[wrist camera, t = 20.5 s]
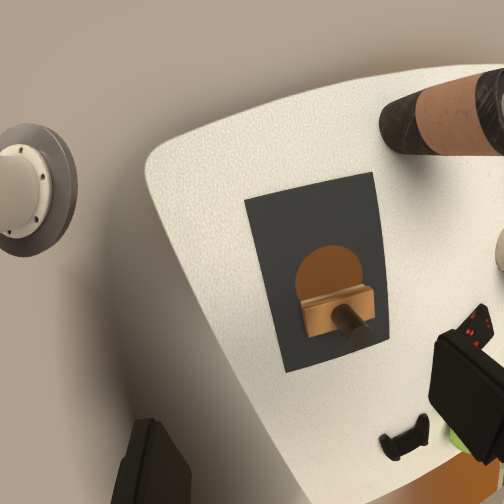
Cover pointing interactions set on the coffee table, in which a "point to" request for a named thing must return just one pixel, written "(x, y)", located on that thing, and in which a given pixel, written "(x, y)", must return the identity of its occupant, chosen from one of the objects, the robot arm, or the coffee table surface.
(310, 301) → the scrub brush
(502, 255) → the mug
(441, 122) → the travel mug
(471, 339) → the handheld gaming console
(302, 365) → the scrub mat
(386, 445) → the gaming controller
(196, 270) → the coffee table surface
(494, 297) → the coffee table surface
